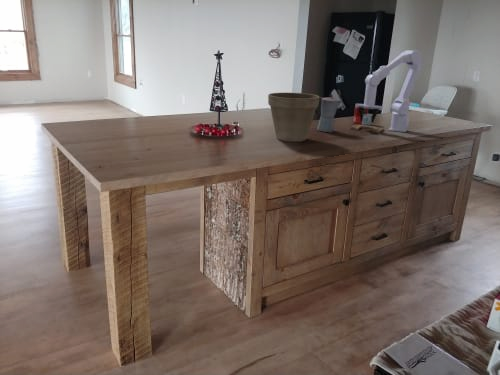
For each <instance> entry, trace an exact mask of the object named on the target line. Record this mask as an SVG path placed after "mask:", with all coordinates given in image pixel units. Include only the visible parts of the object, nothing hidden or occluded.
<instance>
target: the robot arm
mask: <svg viewBox="0 0 500 375" xmlns="http://www.w3.org/2000/svg"><path fill="white" fill-rule="evenodd" d="M422 59H423V56H422V54H421V52H420V51H419V50H411V49H405V50H404V51H403V52H400V54H399V55H398V56H396V58H395V59H393V60H392V61H391V62H390V63H388V64H387V65H381V66H379V68H378V69H377V70H375V71H372V74H368V75H366V78H365V79H364V82H365V94H364V100H363V101H364V102H363V103H355V105H356V107H359V108H358V111H359V114H360V120H361V121H362V117H363V114H364V109H365V108H368V107H369V108H368V110H372V115H373V116H372V124H373V123H375V119H376V116H377V115H378V113H379V112H380V111H383V106H382V105H376V96H377V88H378V85H379V84H380V83H381V81H382V80H384V79H385V78H386V77H388V76H389V75H390V73H391V71H392V70H393V69H394V70H395V68H397V67H398V66H400V65H401V64H406V65H407V66H408V68H409V70H408V72H407V74H406V77H405V79H404V83H403V85H402V87H401V91H400V92H399V95H398V97H396V98H395V99H394V101H393V102H392V104H391V105H390V111H391V113H392V114H391V121H390V126H389V128H388V131H394V132H401V133H406V132H407V131H408V128H409V121H410V115H407V114H408V113H409V110H410V104H411V103H410V100H409V98H411V94H412V91H413V89H414V86H415V84H416V81H417V79H418V76H419V73H420V72H421V68H422V63H421V62H422Z"/></svg>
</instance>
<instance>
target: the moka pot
mask: <svg viewBox="0 0 500 375" xmlns="http://www.w3.org/2000/svg"><path fill="white" fill-rule="evenodd" d="M328 96H329V97H320V96H319V102H320V112H318V111H317V109H316V111H315V114H316V115H320V118H319V120H318V125H317V128H316V129H317V131H319V132H325V133H333V132H334V131H335V130H334V128H335V127H334V126H335V115H336V113H337V110H338V108H339V106H340V105H341V103H343V101H342V100H339V99H337V98H334V97H333V94H329V95H328Z"/></svg>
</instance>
